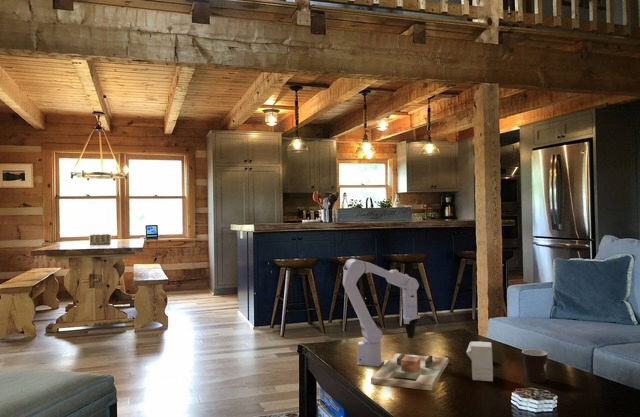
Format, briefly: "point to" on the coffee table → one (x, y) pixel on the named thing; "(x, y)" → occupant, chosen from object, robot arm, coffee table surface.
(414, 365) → the block
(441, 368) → the deck
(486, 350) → the supplement box
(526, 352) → the coffee mug
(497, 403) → the coffee table surface
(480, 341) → the die
